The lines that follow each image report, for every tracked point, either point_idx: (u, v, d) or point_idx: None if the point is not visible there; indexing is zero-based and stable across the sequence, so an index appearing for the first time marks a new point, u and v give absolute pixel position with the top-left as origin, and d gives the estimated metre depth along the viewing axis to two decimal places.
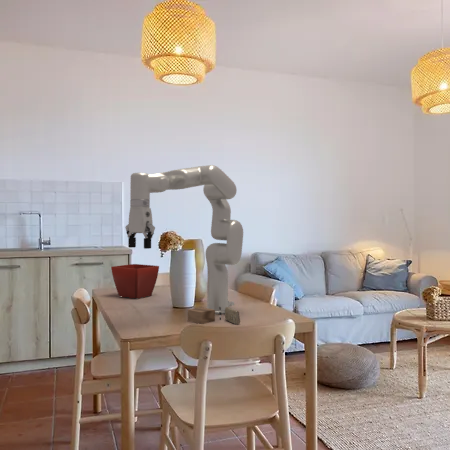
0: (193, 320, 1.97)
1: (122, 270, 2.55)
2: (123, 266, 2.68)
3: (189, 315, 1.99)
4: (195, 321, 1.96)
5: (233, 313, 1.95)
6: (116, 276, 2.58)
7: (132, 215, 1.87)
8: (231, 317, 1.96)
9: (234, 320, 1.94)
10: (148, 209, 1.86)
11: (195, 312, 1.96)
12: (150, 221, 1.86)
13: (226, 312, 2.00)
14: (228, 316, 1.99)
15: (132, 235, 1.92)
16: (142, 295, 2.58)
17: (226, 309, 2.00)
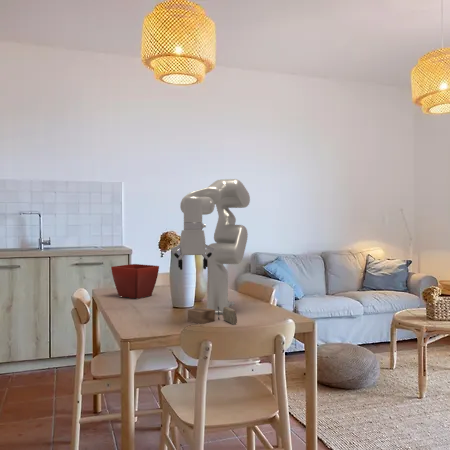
0: (193, 320, 1.97)
1: (122, 270, 2.55)
2: (123, 266, 2.68)
3: (189, 315, 1.99)
4: (195, 321, 1.96)
5: (230, 313, 1.95)
6: (116, 276, 2.58)
7: (190, 238, 1.91)
8: (228, 317, 1.96)
9: (231, 320, 1.95)
10: (203, 231, 1.95)
11: (195, 312, 1.97)
12: None
13: (224, 312, 2.01)
14: (226, 316, 1.99)
15: None
16: (142, 295, 2.58)
17: (224, 309, 2.01)
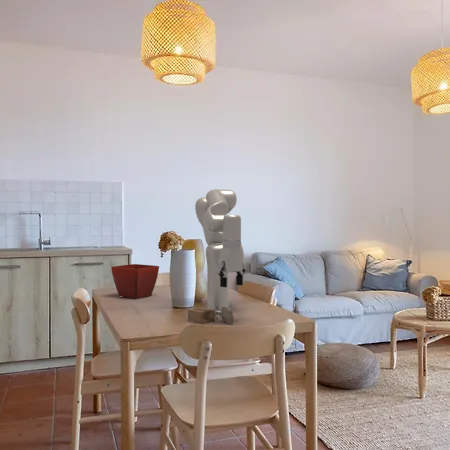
0: (193, 320, 1.97)
1: (122, 270, 2.55)
2: (123, 266, 2.68)
3: (189, 315, 1.99)
4: (195, 321, 1.97)
5: (227, 313, 1.95)
6: (116, 276, 2.58)
7: (234, 255, 1.95)
8: (225, 317, 1.97)
9: (228, 320, 1.95)
10: None
11: (195, 312, 1.97)
12: None
13: (222, 312, 2.01)
14: (223, 316, 1.99)
15: None
16: (142, 295, 2.58)
17: (222, 309, 2.01)
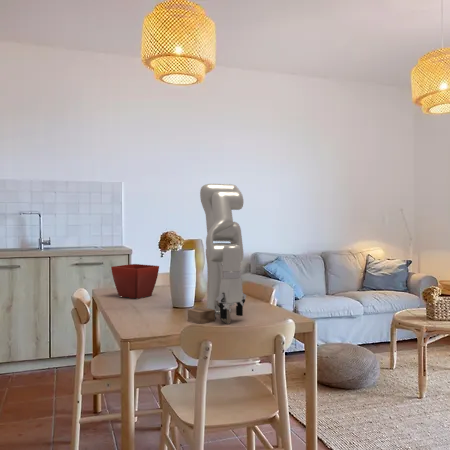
0: (193, 320, 1.98)
1: (122, 270, 2.55)
2: (123, 266, 2.68)
3: (189, 315, 1.99)
4: (194, 321, 1.97)
5: None
6: (116, 276, 2.58)
7: (233, 286, 1.95)
8: None
9: (225, 319, 1.95)
10: None
11: (194, 312, 1.97)
12: None
13: None
14: None
15: None
16: (142, 295, 2.58)
17: None
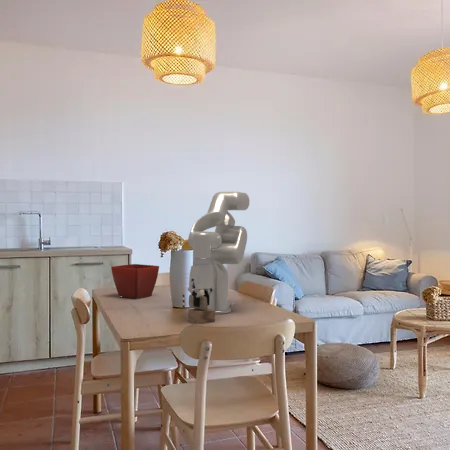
0: (192, 320, 1.98)
1: (122, 270, 2.55)
2: (123, 266, 2.68)
3: (189, 315, 2.00)
4: (194, 321, 1.97)
5: (200, 299, 1.98)
6: (116, 276, 2.58)
7: (203, 273, 1.97)
8: None
9: (202, 306, 1.98)
10: None
11: (194, 312, 1.97)
12: None
13: (191, 299, 2.03)
14: None
15: None
16: (142, 295, 2.58)
17: (190, 296, 2.03)
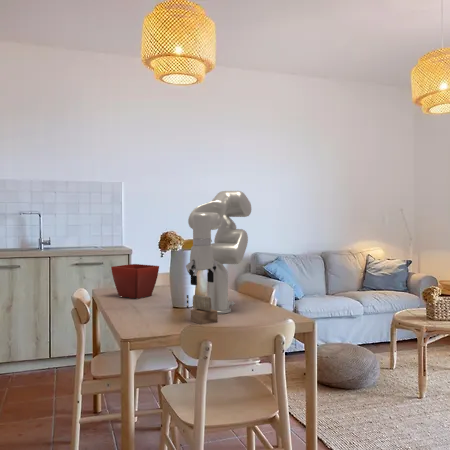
0: (195, 320, 1.97)
1: (122, 270, 2.55)
2: (123, 266, 2.68)
3: (192, 315, 1.99)
4: (196, 321, 1.96)
5: (204, 300, 1.97)
6: (116, 276, 2.58)
7: (204, 253, 1.97)
8: (202, 304, 1.98)
9: (206, 307, 1.96)
10: None
11: (196, 312, 1.96)
12: None
13: (195, 300, 2.01)
14: (197, 303, 2.00)
15: None
16: (142, 295, 2.58)
17: (194, 297, 2.01)
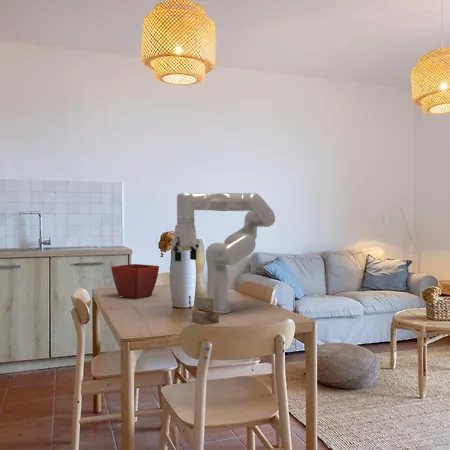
0: (196, 321, 1.96)
1: (122, 270, 2.55)
2: (123, 266, 2.68)
3: (193, 316, 1.98)
4: (198, 322, 1.95)
5: (207, 301, 1.96)
6: (116, 276, 2.58)
7: (187, 231, 2.07)
8: (204, 305, 1.97)
9: (208, 307, 1.96)
10: None
11: (198, 313, 1.95)
12: None
13: (197, 300, 2.00)
14: (200, 304, 1.99)
15: None
16: (142, 295, 2.58)
17: (197, 297, 2.00)
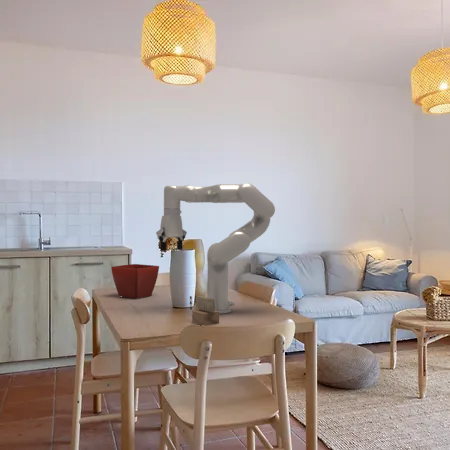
0: (196, 321, 1.95)
1: (122, 270, 2.55)
2: (123, 266, 2.68)
3: (193, 316, 1.97)
4: (198, 323, 1.94)
5: (208, 301, 1.94)
6: (116, 276, 2.58)
7: (173, 222, 2.16)
8: (205, 305, 1.95)
9: (209, 308, 1.94)
10: None
11: (198, 313, 1.94)
12: None
13: (198, 301, 1.99)
14: (201, 305, 1.97)
15: None
16: (142, 295, 2.58)
17: (198, 298, 1.99)
